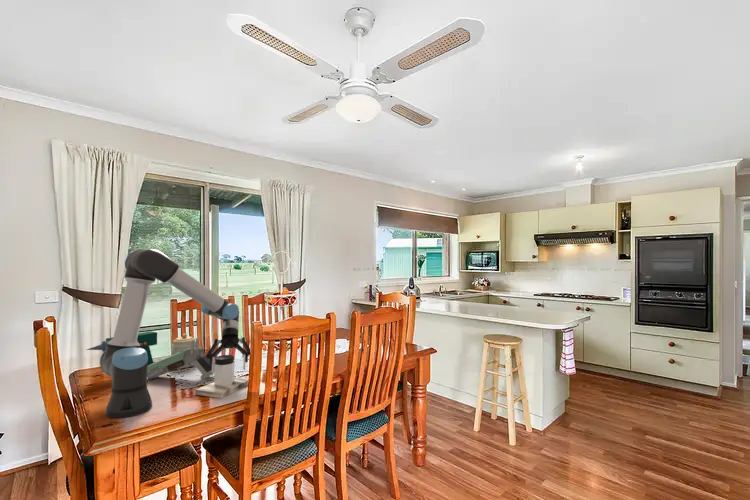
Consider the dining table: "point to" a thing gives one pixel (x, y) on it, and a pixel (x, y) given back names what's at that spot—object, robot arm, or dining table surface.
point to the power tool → (143, 339)
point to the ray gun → (182, 362)
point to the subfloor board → (221, 388)
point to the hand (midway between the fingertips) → (228, 369)
